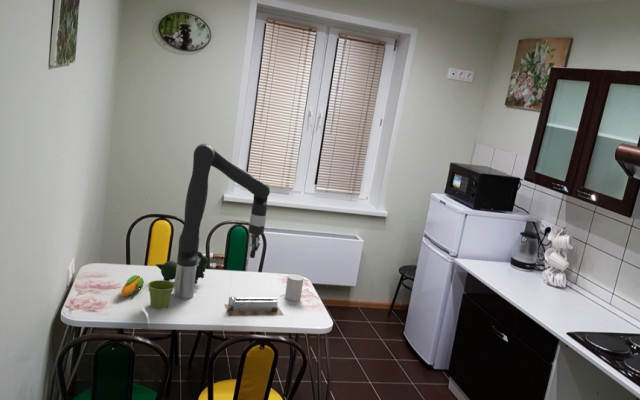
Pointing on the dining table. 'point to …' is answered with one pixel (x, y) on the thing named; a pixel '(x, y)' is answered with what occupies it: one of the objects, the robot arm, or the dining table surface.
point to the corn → (132, 285)
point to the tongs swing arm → (256, 299)
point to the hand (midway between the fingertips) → (252, 257)
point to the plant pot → (160, 293)
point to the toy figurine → (170, 267)
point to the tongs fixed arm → (252, 306)
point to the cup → (294, 287)
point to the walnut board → (253, 313)
